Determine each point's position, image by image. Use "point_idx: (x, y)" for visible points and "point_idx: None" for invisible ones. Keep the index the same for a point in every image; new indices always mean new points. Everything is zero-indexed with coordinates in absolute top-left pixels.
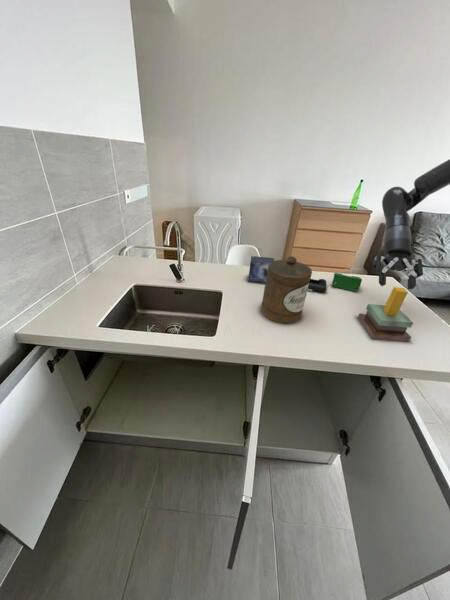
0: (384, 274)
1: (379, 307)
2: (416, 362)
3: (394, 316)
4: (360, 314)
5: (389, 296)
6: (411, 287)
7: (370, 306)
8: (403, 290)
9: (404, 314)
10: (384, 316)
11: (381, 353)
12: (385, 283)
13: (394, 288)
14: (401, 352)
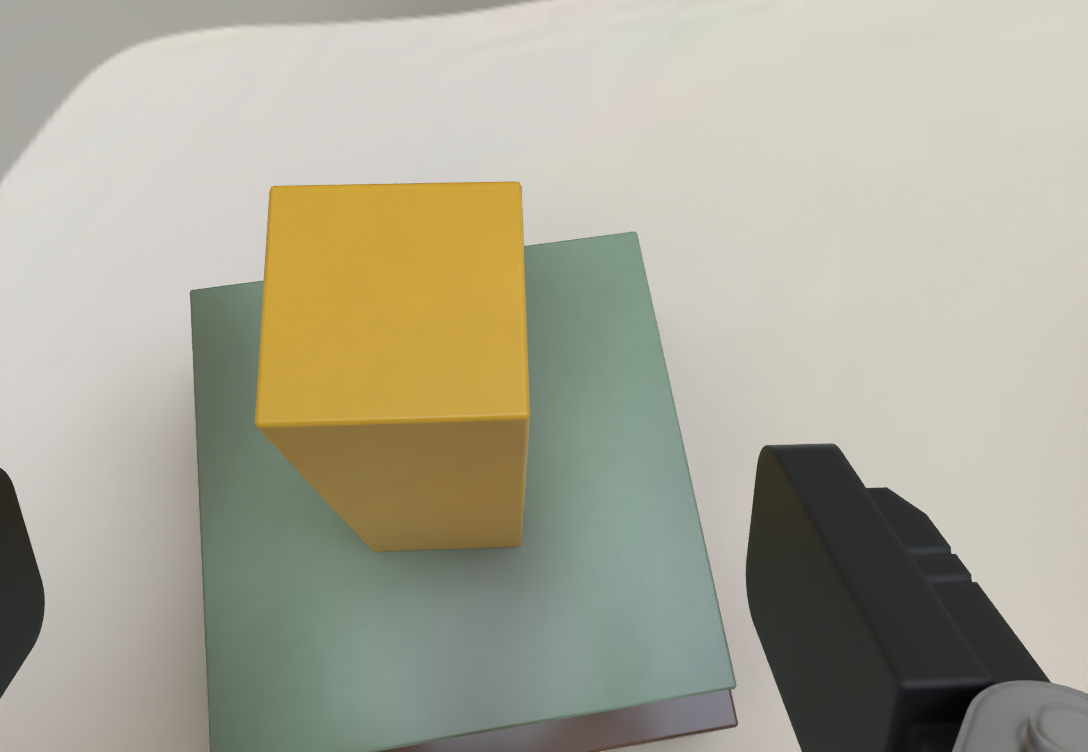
0: (950, 653)
1: (562, 608)
2: (313, 80)
3: None
4: (724, 702)
5: (524, 484)
6: (4, 480)
7: (712, 596)
8: (344, 257)
9: (207, 496)
10: (564, 341)
11: (595, 118)
12: (780, 448)
13: (526, 365)
14: (394, 176)
